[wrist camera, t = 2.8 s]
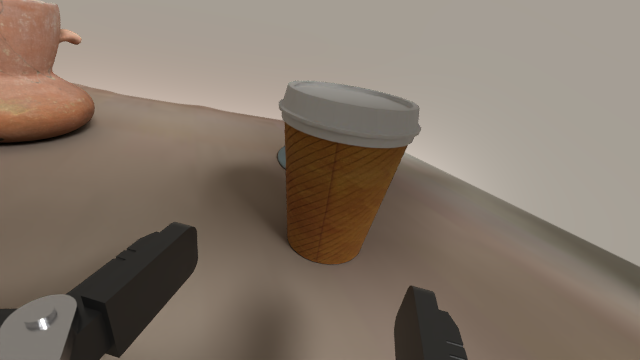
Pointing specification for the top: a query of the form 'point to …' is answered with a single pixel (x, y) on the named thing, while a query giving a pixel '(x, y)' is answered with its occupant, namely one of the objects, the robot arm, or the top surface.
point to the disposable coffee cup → (340, 163)
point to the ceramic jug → (36, 75)
